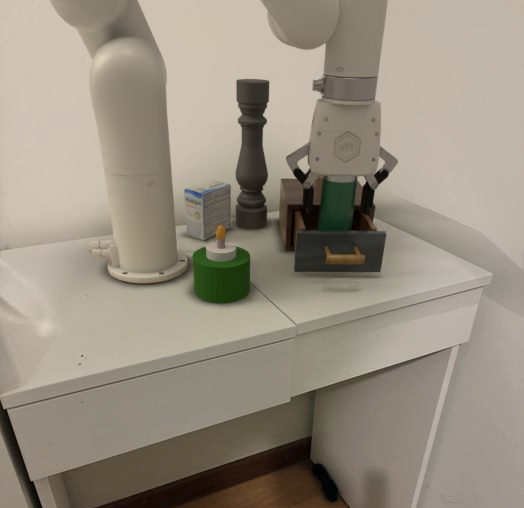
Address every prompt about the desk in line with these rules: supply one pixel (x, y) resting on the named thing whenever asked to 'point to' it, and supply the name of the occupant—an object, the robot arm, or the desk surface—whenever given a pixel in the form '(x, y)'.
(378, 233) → the drawer
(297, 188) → the cabinet
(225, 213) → the medicine box
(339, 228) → the can
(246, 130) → the candle holder
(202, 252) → the candle
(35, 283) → the desk surface
